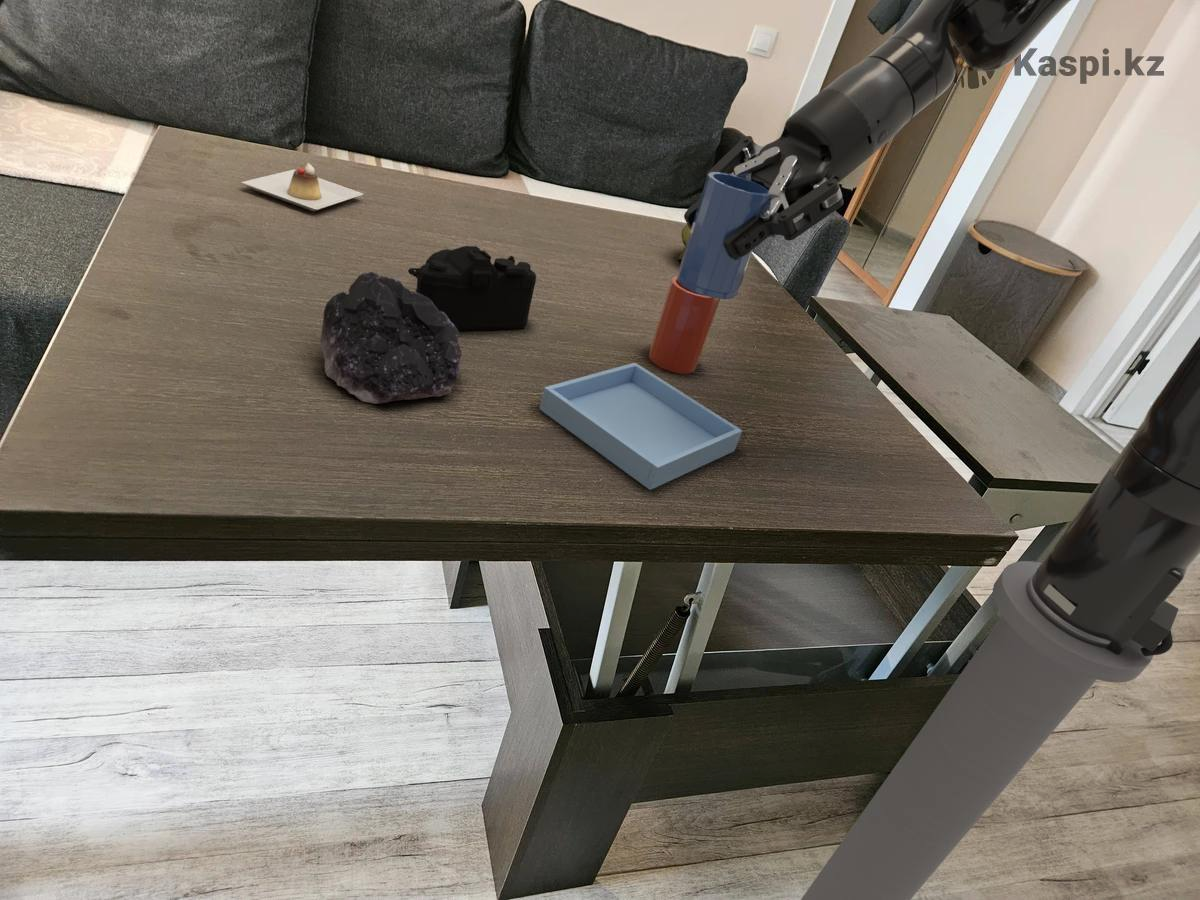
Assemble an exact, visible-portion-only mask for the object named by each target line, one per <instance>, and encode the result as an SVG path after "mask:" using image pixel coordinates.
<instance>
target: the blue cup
mask: <svg viewBox="0 0 1200 900" xmlns="http://www.w3.org/2000/svg"><path fill="white" fill-rule="evenodd" d="M705 179H706V180H705V183H704V186H703V189H702V192H701V196H700V198H701V199H700V198H699V199H700V202H699V205H698V209H697V212H696V215H695V218H694V222H693V225H692V228H691V232H690V235H689V238H688V242H687V245H686V248H685V247H684V248H685V251H684V255H683V258H682V260H681V261H680V264H679V268H678V273H677V275H676V276H677V279H678V281H679V282H680V283H681V284H682V285H683V286H684V287H686V288H688V289H689V290H691V291H694V292H696V293H698V294H701V295H704V296H708V297H712V298H717V299H720V300H730V299H734V298H736V297H737V294H738V293H739V290H740V288H741V285H742V283H743V280H744V276H745V274H746V271H747V268H748V265H749V262H750V259H751V256H752V253H753V250H754V249H753V250H752V251H750V252H749V253H748V254H747V255H745V256H742V257H740V258H739V259H737V260H734V259H732V258H731V257H729V255H728V253H727V251H726V249H725V247H724V241H725V239H726V238H727V237H729V236H730V235H731V234H732V233H734V232H735V231H736V230H737V229H738V228H740V227H741V226H742V225H743V224H744V223H746V222H747V221H748V220H749V219H750V218H752V217H753V216H754V215H755V216H756V217H758V218H759V217H760V216H759V214H760V211H761V210H762V208H763V206H764V205H765V203H766V202H767V201H768V199H769V197H770V194H768V191H769V190H768V189H766V188H765V187H764V186H762V185H760V184H757V183H755V182H754V181H752V180H751V178H750V179H749V178H747V177H745V178H743V177H739V176H736V175H732V174H728V173H727V172H724V173H721V172H711V173H709V174H708V176H706V178H705Z"/></svg>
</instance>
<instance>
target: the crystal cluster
mask: <svg viewBox="0 0 1200 900" xmlns="http://www.w3.org/2000/svg"><path fill="white" fill-rule="evenodd" d="M459 336H460V331H458V330H457V328H456V326H455V325H454V324H453V323H452V322H450V320H449V318H448V317H447V315H446V314H445V313H444V312H442V311H439V310H438V309H437V307H436V306H435V305H434V303H433V302H432V301H431V300H430V299H429V298H428V297H425V296H424V295H422V294H420V293H417V292H416V291H411V290H409V288H407V287H406V286H404V284H403V283H402V282H401V281H400V280H399V279H398V278H395V277H388V276H385V275H384V276H383V275H379V274H378V273H376V272H374V271H369V272H363V273H361V274H359V275H358V277H357V278H356V279H355V280H354V281H353V282H352V283H351V285H350V286H349V289H348V294H347V293H346V292H345V291H341V292H338V293H336V294H334V295H333V296H332V297H331V298H329V299H328V301H327V302H326V304H325V307H324V311H323V319H322V327H321V334H320V344H321V352H322V354H323V359H324V372H325V375H326V376H327V377H328V378H330V379H331V380H333V381H334V382H335V383H336V385H337V386H338V387H341V388H343V389H345V390H346V391H347V392H348V393H349V394H351V395H354V396H355V397H356V398H357V399H358V400H360V401H361V402H364V403H370V404H374V405H376V404H385V403H390V402H395V401H403V400H408V401H409V400H410V401H411V400H418V399H423V398H430V397H431V398H433V397H443V396H445V395H449V394H451V392H452V390H453V388H454V387H455V384H456V383H455V382H456V381H457V379H458V377H459V376H460V360H461V356H462V350H461V347H460V345H459Z"/></svg>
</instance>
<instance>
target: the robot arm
mask: <svg viewBox="0 0 1200 900" xmlns="http://www.w3.org/2000/svg"><path fill="white" fill-rule="evenodd" d="M1071 1H1072V0H922V1H921V3H920V4H919V6H918V7H917V8H916V10H915V11H914V12H913V13H912V15H911V16H910V17H909V18H908V20H907V21H905V23H904V24H903V25H902V26H901V28H899V29H898V30H897V31H896V32H895V33H894V34H892V35H891V36H890V37H889V38H888V39H887V40H886V41H884V42H883V43H882V44H881V45H880V46H878V47H877V48H876V49H875V50H873V51H872V52H871V53H870V54H869V55H867V56H866V57H865V58H864V59H863V60H861V61H860V62H859V63H857V64H855V65H853V66H852V67H850V68H848V69H847V70H846V71H844V72H843V73H841V74H840V75H839V76H838V77H836V79H834V80H833V81H832V82H831V83H829V84H828V85H827V86H825V88H823V89H822V90H821V91H820V92H818V93H817V94H815V96H814V97H812V98H811V99H810V100H809V101H808V102H806V103H805V104H804V105H803V106H802V107H800V108H799V109H798V110H797V111H795V112H794V113H793V114H792V115H791V116H789V117H788V118H787V120H786V121H785V123H784V127H783V130H782V133H781V135H780V136H779V137H778V138H777V139H775V140H774V141H772V142H769V143H767V144H765V145H763V146H762V145H760V144H759V145H758V144H756V143H755V142H754V138H753V136H751V135H746V136H744V137H742V138H741V139H740V140H739V141H738V142H737V143H736V144H735V145H734V146H733V147H732V148H730V150H729V151H728V152H727V153H726V154H725V155H724V156H722V157H721V159H720V160H719V161H718V162H716V164H715V165H713V166H712V168H710V169H709V170H708V171H707V173H706V175H705V176H706V177H707V176H708V174H709V173H711V172H721V173H728V174H732V175H736V176H739V177H743V178H747V176H748V175H750V180H752V181H754V182H755V183H757V184H760V185H762V186H764V187H765V188H766V189H768V190H769V191H768V194H770V197H769V199H768V201H767V202H766V203H765V205H764V206H763V208H762V210H761V211H760V214H759V216H760V217H759V218H758V217H756V216H755V215H754V216H753V217H752V218H750V219H749V220H748V221H747V222H746V223H744V224H743V225H742V226H741V227H740V228H738V229H737V230H736V231H735V232H734V233H732V234H731V235H730V236H729V237H727V238H726V239H725V241H724V247H725V249H726V251H727V253H728V255H729V257H731V258H732V259H734V260H737V259H739V258H740V257H742V256H745V255H747V254H748V253H749V252H750V251H752V250H754V249H756V248H757V247H758V246H759V245H760V244H761V243H763V242H764V241H766V239H768V238H774V237H777V236H783V237H784V240H786V241H793V240H795V239H796V238H798V237H800V236H801V235H802V234H804V233H806V232H807V231H808V230H810V229H811V228H812V227H814V226H815V225H817V224H818V223H819V222H821V221H823V220H824V219H825V218H827V217H828V216H830V215H831V214H833V213H834V212H836V211H837V210H839V209H840V208H841V207H843V206H844V204H845V203H844V199H843V194H842V190H841V187H840V184H839V183H840V182H842V181H843V180H844V179H845V178H846V177H848V176H849V175H850V174H851V173H852V172H854V171H855V170H856V169H857V168H858V167H860V166H861V165H862V164H863V163H864V162H866V161H867V160H868V159H870V158H871V157H872V156H873V155H874V154H875V153H877V152H878V151H879V150H880V149H881V148H883V147H884V146H886V144H887V143H889V142H890V141H891V140H893V139H894V137H895V136H896V135H897V134H898V133H899V132H900V131H902V129H903V128H904V127H905V126H906V125H907V124H908V123H909V122H910V121H911V120H912V119H913V118H914V117H916V116H917V115H918V114H919V113H921V112H922V111H923V110H924V109H925V108H926V107H928V106H929V105H931V104H932V103H934V101H935V100H937V99H938V98H939V97H940V96H941V95H943V94H944V93H945V92H946V91H947V90H948V89H949V88H950V86H951V85H952V83H953V82H954V79H955V76H956V73H957V72H956V71H957V62H956V57H955V53H954V49H953V45H954V46H955V48H956V49H957V51H958V53H959V55H960V56H961V57H962V58H963V60H964V62H965V63H966V64H967V66H968V67H969V68H970V69H972V70H974V71H978V72H992V71H996V70H999V69H1001V68H1004V67H1005V66H1007V65H1009V64H1010V63H1012V62H1013V61H1014V60H1015V59H1017V58H1018V57H1019V56H1020V55H1021V54H1022V53H1023V52H1024V51H1025V50H1026V49H1027V48H1028V47H1029V46H1030V45H1031V43H1033V41H1034V40H1035V39H1036V38H1037V37H1038V36H1039V34H1040V33H1042V31H1043V30H1045V28H1046V27H1047V26H1048V25H1049V24H1050V22H1051V21H1052V20H1053V19H1054V18H1055V17H1056V16H1057V15H1058V14H1059V13H1060V12H1061V10H1063V9H1064V8H1065V6H1067V4H1069V3H1070V2H1071ZM951 41H952V43H951ZM952 44H953V45H952ZM700 199H701V197H700V198H699V199H698V200H696V201H695V202H694V203H693V204H692V205H690V206H689V207H688V208H687V210H686V211H685V212H684V215H683V218H684V221H685V222H686V225H688V227H689V228H690V229H691V228H692V225H693V222H694V218H695V215H696V212H697V209H698V205H699V202H700ZM802 214H803V215H802ZM800 215H802V217H801V218H800V219H798V220H797V221H796V222H794V219H796V218H798V217H799V216H800ZM752 252H753V251H752ZM1199 555H1200V336H1199V337H1198V338H1197V339H1196V340H1195V342H1194V343H1193V345H1192V346H1191V348H1190V349H1189V350H1188V352H1187V354H1186V355H1185V357H1184V358H1183V359H1182V361H1181V362H1180V363H1179V365H1178V367H1177V368H1176V370H1175V371H1174V372H1173V374H1172V375H1171V377H1170V378H1169V379H1168V381H1167V382H1166V384H1165V386H1164V387H1163V389H1162V390H1161V391H1160V392H1159V394H1158V395H1157V397H1156V398H1155V400H1154V401H1153V402H1152V404H1151V406H1150V407H1149V409H1148V410H1147V412H1146V414H1145V416H1144V418H1143V420H1142V422H1141V424H1140V425H1139V427H1138V428H1137V429H1136V431H1135V432H1134V433H1133V435H1132V436H1131V438H1130V439H1129V441H1128V442H1127V443H1126V445H1125V446H1124V448H1123V449H1122V450H1121V452H1120V453H1119V455H1118V456H1117V458H1116V459H1115V460H1114V462H1113V463H1112V464H1111V466H1110V468H1108V471H1107V472H1106V473H1105V475H1104V476H1103V477H1102V478H1101V480H1100V481H1099V482H1098V484H1097V486H1096V487H1095V489H1094V490H1093V492H1092V493H1091V494H1090V496H1088V498H1087V500H1086V501H1085V502H1084V504H1083V506H1082V507H1080V509H1079V511H1078V512H1077V513H1076V515H1075V516H1074V518H1073V519H1072V521H1071V522H1070V523H1069V525H1068V526H1067V527H1066V529H1065V530H1064V532H1063V533H1062V535H1061V536H1060V537H1059V539H1058V540H1057V542H1055V545H1054V546H1053V547H1052V548H1051V550H1050V551H1049V553H1048V555H1047V556H1046V557H1045V558H1044V560H1043V561H1042V562H1041V563H1042V564H1041V565H1040V566H1039V568H1038V569H1037V571H1036V572H1035V573H1034V574H1033V575H1032V576H1031V578H1030V579H1029V581H1028V582H1027V585H1026V591H1027V594H1028V597H1029V598H1030V600H1031V602H1032V603H1033V605H1034V606H1035V607H1036V608H1037V610H1038V611H1039V612H1040V613H1041V614H1042V615H1043V616H1044V617H1046V618H1047V619H1048V620H1049V621H1050V622H1052V623H1053V624H1054V625H1055V626H1057V627H1058V628H1060V629H1061V630H1063V631H1064V632H1066V633H1068V634H1069V635H1071V636H1073V637H1075V638H1077V639H1079V640H1081V641H1084V642H1086V643H1089V644H1092V645H1095V646H1098V647H1103V648H1106V649H1108V650H1110V651H1111V652H1113V653H1114V654H1116V655H1119V654H1120V653H1121V652H1122V651H1123V650H1124V648H1125V647H1126V646H1127V645H1128V644H1129V642H1130V641H1131V640H1133V641H1135V642H1136V643H1138V644H1140V645H1141V646H1143V648H1141V652H1142V654H1143V655H1144V656H1152V655H1153V656H1160V655H1164V654H1165V653H1167V652H1168V651H1170V650H1171V649H1172V647H1173V644H1174V640H1173V639H1174V638H1173V634H1172V628H1173V626H1174V623H1175V620H1176V617H1177V615H1178V612H1179V610H1180V609H1179V607H1176V606H1175V605H1173V604H1171V603H1170V602H1168V601H1166V600H1167V599H1168V598H1169V596H1170V595H1172V593H1173V592H1174V591H1175V589H1176V588H1177V587H1178V586H1179V584H1181V583H1182V582H1183V580H1184V578H1185V575H1186V573H1187V570H1188V569H1189V567H1190V566H1191V565H1192V564H1193V562H1195V560H1197V558H1198V556H1199Z"/></svg>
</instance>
